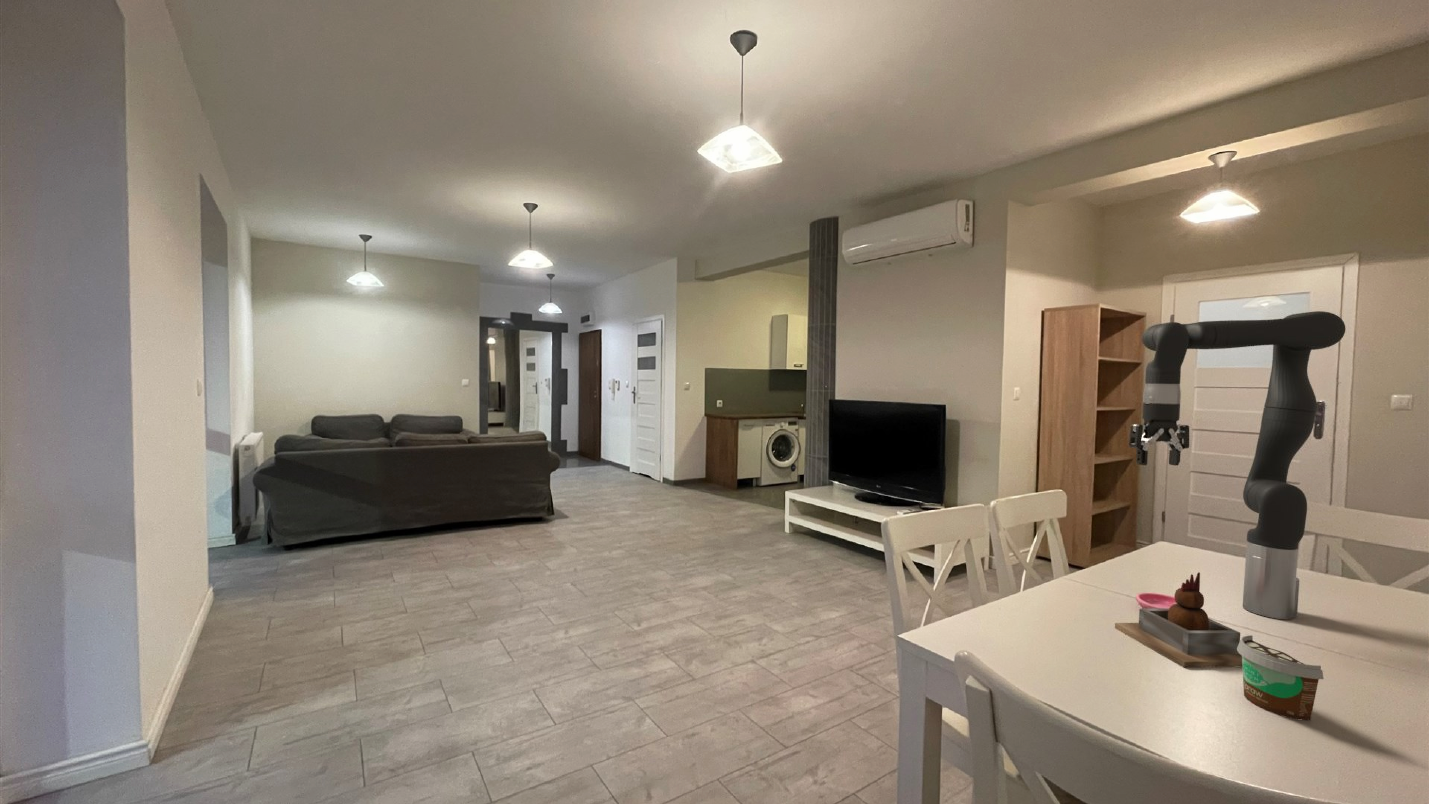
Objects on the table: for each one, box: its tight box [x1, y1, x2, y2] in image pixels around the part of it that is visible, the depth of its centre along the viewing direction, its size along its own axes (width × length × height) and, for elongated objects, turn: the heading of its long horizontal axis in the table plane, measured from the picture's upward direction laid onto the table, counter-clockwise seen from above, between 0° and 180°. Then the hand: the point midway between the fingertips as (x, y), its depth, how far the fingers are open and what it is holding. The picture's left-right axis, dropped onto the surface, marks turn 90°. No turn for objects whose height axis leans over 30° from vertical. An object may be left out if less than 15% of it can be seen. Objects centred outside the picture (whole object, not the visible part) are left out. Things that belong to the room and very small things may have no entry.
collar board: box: [1114, 608, 1243, 669], centre depth 123 cm, size 18×18×6 cm
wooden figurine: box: [1168, 571, 1210, 631], centre depth 123 cm, size 7×6×15 cm
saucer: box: [1135, 592, 1177, 609], centre depth 141 cm, size 12×12×3 cm
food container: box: [1237, 634, 1324, 721], centre depth 101 cm, size 12×6×10 cm, turn 5°
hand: (1157, 465), depth 146 cm, fingers open, 8 cm apart
